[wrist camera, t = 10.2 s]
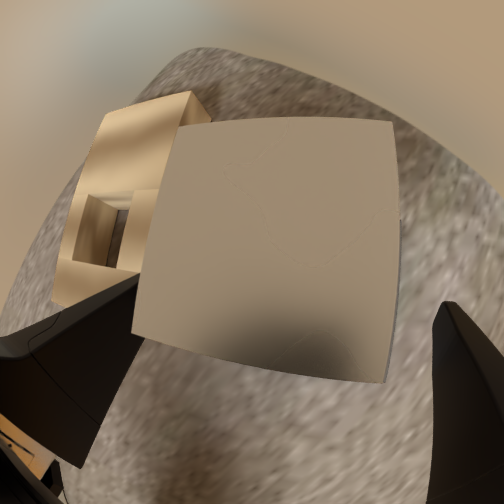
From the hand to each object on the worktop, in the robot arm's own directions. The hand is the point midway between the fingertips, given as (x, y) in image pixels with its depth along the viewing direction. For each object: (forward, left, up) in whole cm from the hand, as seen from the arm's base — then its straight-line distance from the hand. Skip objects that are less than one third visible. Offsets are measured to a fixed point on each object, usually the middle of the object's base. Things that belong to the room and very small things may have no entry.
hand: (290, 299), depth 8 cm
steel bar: (+1, 0, -9) cm, 9 cm away
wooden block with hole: (0, +16, -9) cm, 19 cm away
